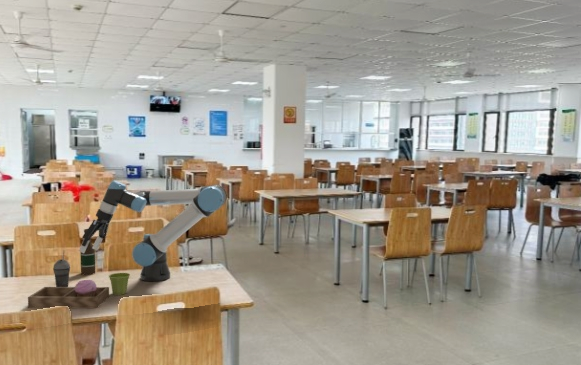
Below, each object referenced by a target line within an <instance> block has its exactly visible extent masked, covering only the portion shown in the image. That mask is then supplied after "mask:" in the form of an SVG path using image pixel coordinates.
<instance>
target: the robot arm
mask: <svg viewBox="0 0 581 365" xmlns="http://www.w3.org/2000/svg"><path fill="white" fill-rule="evenodd" d="M227 200H228V193H227V190H226V189H225V188H224V187H223V186H222V185H219V184H212V185H207V186H206V185H205V186H200V187H199V188H188V189H185V188H184V189H183V188H182V189H168V190H167V189H166V190H139V191H138V192H132V191H129V190H127V185H126V184H125V183H123V182H120V181H118V180H112V181H111V182H110V183H109V185H108V187H107V188H106V191H105V193H104V195H103V199H102V201H100V205H99V207H98V209H97V211H96V214H95V217H97V219H93V220H92V222H91V224H90V225H89V227H88V228H86V229H87V231H86V232H85V234H83V235H82V239H83V240H82V242H81V245H80V247H79V249H78V252H80V253H81V252H82V253H85V251H86V248H87V246H88V244H89V242H90V241H89V240H90V239H91V240H92V237H93V236H95V234H96V232H98V236H97V237H96V239H95V241H94V243H93V244H92V245H93V247H92V248H93V249H95V251H98V250H99V248H100V246H101V244H102V242H103V239H104V240H106V239H107V238H106V237H107V234H108V229H109V224H110V222H111V221H112V218H113V217H114V214H115V213H116V210H117V208H118V205H121V206H123V207H126V208H127V209H130V210H132V211H134V212H137V213H141V212H142V211H144V209H145V208H146V207H147V206H148V207H149V206H165V205H166V206H167V205H168V206H170V205H188V206H187V207H186V208H185V209H184V210H183V211H181V212H180V213H179V214H178V215H177V216H175V217H174V218H173V219H172V220H171V221H170V222H168V223H167V224H166V225H165V226H163V227H162V228H161V229H160V230H159V231H158V232H156V233H148V234H144V235H143V238H142V241H141V242H139V243H137V244H136V245H135V246H134V247H133V249H132V255H131V256H132V258H133V261H134V262H135V263H136V264H137V265H139V266H141V267H142V269H141V272H140V280H141V281H145V282H160V281H161V282H162V281H166V280H168V279H170V278H171V271H170V268H169V264H168V255H167V254H168V253H167V252H168V247H170V245H172V244H173V243H174V242H175V241H176V240H177V239H179V238H180V237H182V235H184V234H185V233H186V232H187V231H188V230H190V229H191V228H192V227H193V226H194V225H196V224H197V223H198V222H199V221H201V219H203V218H209V217H210V216H211V215H212V214H214V213H215V212H216V211H218V210H219V209H220V208H221V207H222V206H224V204H225V203H226V201H227Z"/></svg>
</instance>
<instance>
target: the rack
mask: <svg viewBox="0 0 581 365" xmlns="http://www.w3.org/2000/svg"><path fill="white" fill-rule="evenodd" d="M96 287H97V289H96V291H95V295H94V297H78V296H77V292H75V286H68V287H56V286H44V287H42V288H41V289H39V290H37V291H36V292H34V293H32V294H31V295H30V296H28V297H27V307H28V308H30V309H31V308H37V309H38V308H40V309H41V308H43V309H44V308H46V307H55V306H68V307H70V309H71V308H73V309H75V308H76V309H78V308H79V309H81V308H82V309H86V308H87V309H91V308H93V309H94V308H95V309H97V308H99V307H100V306H101V305H102V304H103V303H104V302H105V301H107V300H108V299H109V297H110V287H108V286H106V287H105V286H96Z"/></svg>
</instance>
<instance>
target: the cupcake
mask: <svg viewBox="0 0 581 365" xmlns="http://www.w3.org/2000/svg"><path fill="white" fill-rule="evenodd" d="M74 287H75V292H77V296H78V297H94V295H95V291H96V289H97V287H98V286H97V284H96V282H95V281H94V280H92V279H84V280H79V281H78V282H77V283H76V284H75V286H74Z"/></svg>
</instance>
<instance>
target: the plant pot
mask: <svg viewBox="0 0 581 365" xmlns="http://www.w3.org/2000/svg"><path fill="white" fill-rule="evenodd" d="M130 277H131V274H130V273H128V272H116V273H111V274H109V275H108V278H109V280H110V285H111V290H112V294H113V295H116V296H121V295H124V294H127V292H128V291H127V290H128V285H129V284H128V283H129V278H130Z"/></svg>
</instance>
